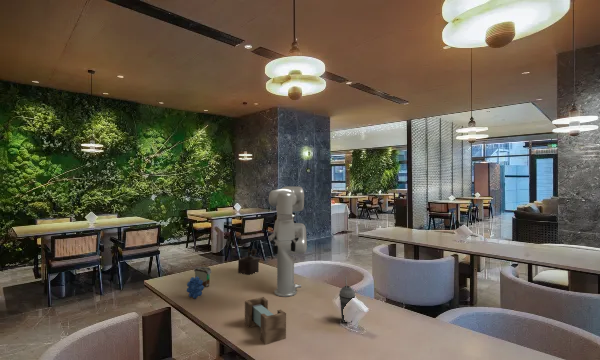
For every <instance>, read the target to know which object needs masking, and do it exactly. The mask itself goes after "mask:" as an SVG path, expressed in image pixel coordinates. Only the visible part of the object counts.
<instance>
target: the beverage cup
mask: <svg viewBox="0 0 600 360" xmlns="http://www.w3.org/2000/svg"><path fill="white" fill-rule="evenodd" d="M344 279H345V281H344V282H345V286H342V288H341V289H340V290H339V294H338V296H339V303H340V313H341V314H340V316H341V322H342V321H344V322H345V320H344V315H343V309H344V307H345V306H346V304H347V303H348V302H349V301H350V300H351V299H352V298H356V293H355V290H354V288H353V287H351V286H350V285H349V286H348V282H347V275H345V276H344ZM344 322H343V323H344Z"/></svg>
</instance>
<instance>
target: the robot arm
mask: <svg viewBox="0 0 600 360" xmlns="http://www.w3.org/2000/svg"><path fill="white" fill-rule="evenodd" d="M268 203H269V205H270V206H272V207H276V220H274V226H273V233H271V234H270V235H269V236H268V237H267V238H268V239H269V242H270V244H272V246H273V249H272V252H273V253H274V254H276V261H277V263H276V264H277V266H276V267H277V269H276V274H277V276H276V278H277V279H276V280H277V281H276V282H277V283H276V289H274V291H273V293H274V295H275V296H279V297H285V298H287V297H292V296H296V294H297V293H298V292H297V289H300V288H302V284H301V283H299V284H297V283H295V261H294V259H293V257H292V256H291V255H303V254H305V253H306V252H307V249H308V246H307V245H308V242H307V239H308V238H307V228H306V227H307V226H305V224H304V223H301V222H294V218H295V214H293V212H302V211H303V210H304V208H305V206H304V205H305V191H304V189H303V187H302V186H288V185H287V186H283V187H281V188H279V189H273V190H271V191H270V192H269V195H268Z"/></svg>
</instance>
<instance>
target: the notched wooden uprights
mask: <svg viewBox="0 0 600 360" xmlns="http://www.w3.org/2000/svg"><path fill="white" fill-rule="evenodd" d="M259 304H261V305H262V306H263V307H265V308H266V309H267V310H269V308H268V306H269V305H268V304H269V300H268V299H267V298H265V296H261V297H258V298H257V297H256V298H252V299H247V300H244V324H245V325H246V327H247V328H252V327H256V326H258V325H257V324H256V323H255V322H254V321H253V320H252V306H254V305H259ZM286 339H287V313H286V312H285V311H283V310H282V309H278V310H277V313H275V314H274V315H270V316H267V315H266V314H261V327H260V340H261V342H262V343H263V344H264V345H270V344H273V343H275V342H279V341H282V340H286Z"/></svg>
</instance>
